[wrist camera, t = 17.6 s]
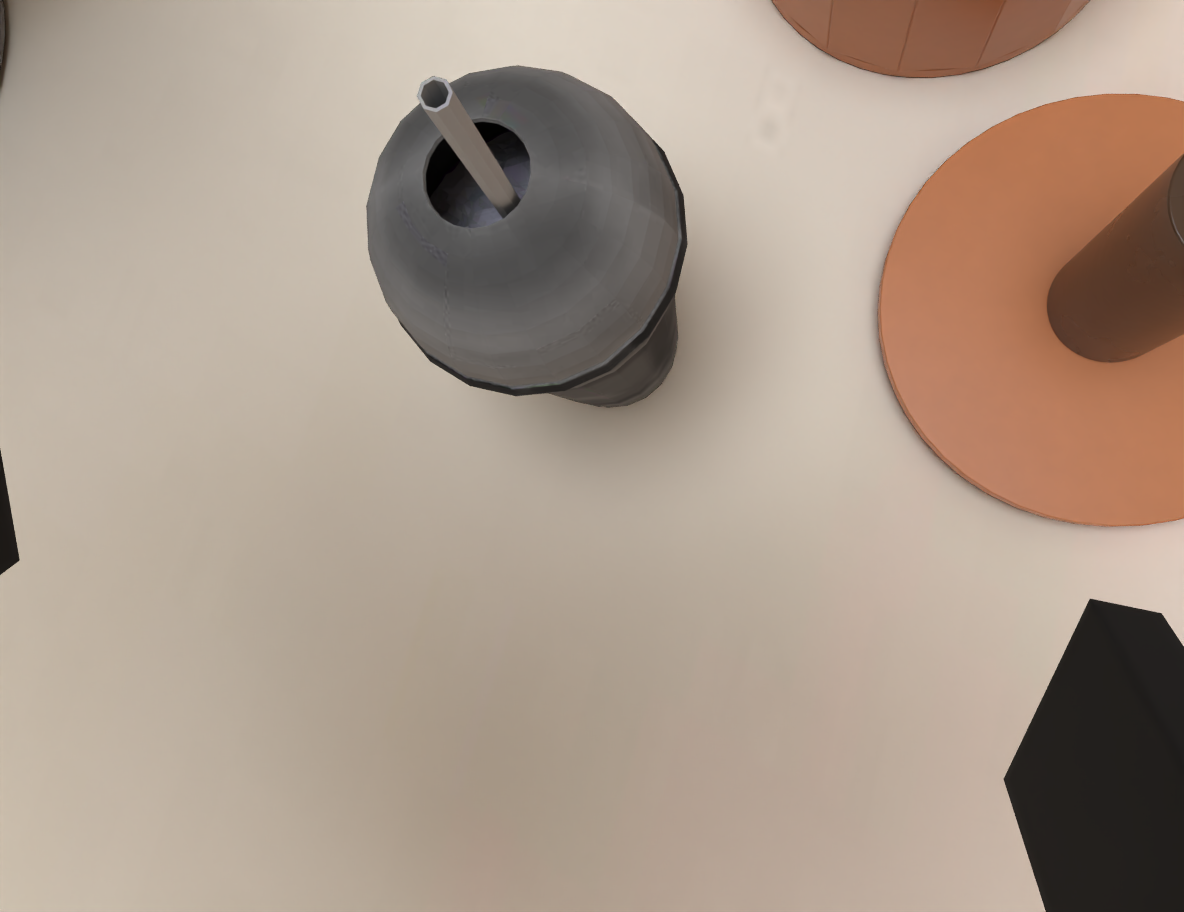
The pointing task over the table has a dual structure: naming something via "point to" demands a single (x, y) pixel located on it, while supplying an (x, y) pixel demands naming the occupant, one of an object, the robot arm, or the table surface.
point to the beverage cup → (530, 237)
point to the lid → (1050, 311)
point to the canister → (927, 31)
